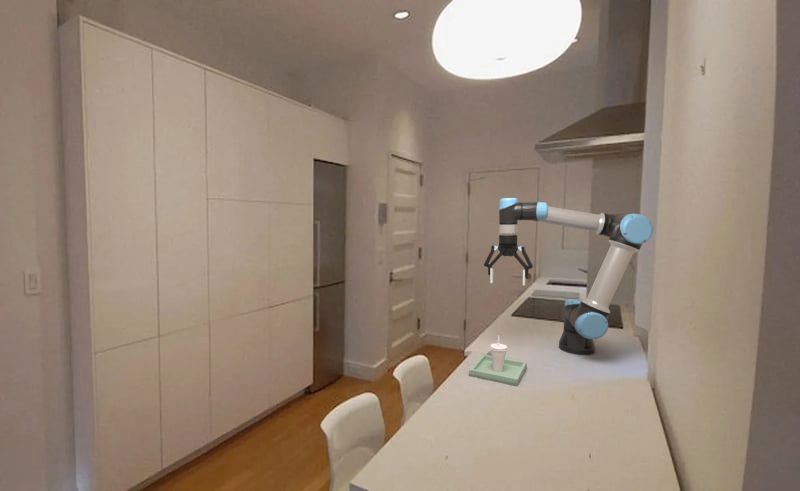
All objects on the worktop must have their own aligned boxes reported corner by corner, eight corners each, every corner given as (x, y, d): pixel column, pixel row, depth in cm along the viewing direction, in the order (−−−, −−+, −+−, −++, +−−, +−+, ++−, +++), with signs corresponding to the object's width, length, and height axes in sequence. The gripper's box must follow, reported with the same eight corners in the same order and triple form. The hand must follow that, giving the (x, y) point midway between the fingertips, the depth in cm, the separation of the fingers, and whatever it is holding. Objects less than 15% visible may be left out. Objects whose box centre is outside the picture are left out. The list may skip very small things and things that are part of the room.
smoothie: (487, 371, 150) (488, 336, 148) (491, 365, 155) (492, 331, 154) (504, 374, 147) (505, 338, 145) (508, 368, 152) (509, 334, 151)
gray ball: (496, 359, 164) (496, 351, 164) (493, 362, 161) (494, 353, 161) (487, 357, 166) (488, 349, 166) (485, 360, 163) (485, 352, 162)
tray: (526, 368, 155) (526, 362, 154) (517, 386, 139) (517, 379, 139) (482, 360, 163) (482, 354, 163) (469, 375, 147) (469, 369, 147)
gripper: (540, 234, 162) (539, 284, 164) (481, 233, 173) (481, 280, 175) (538, 235, 155) (537, 287, 157) (476, 234, 166) (476, 283, 168)
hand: (507, 283), depth 166 cm, fingers open, 13 cm apart
